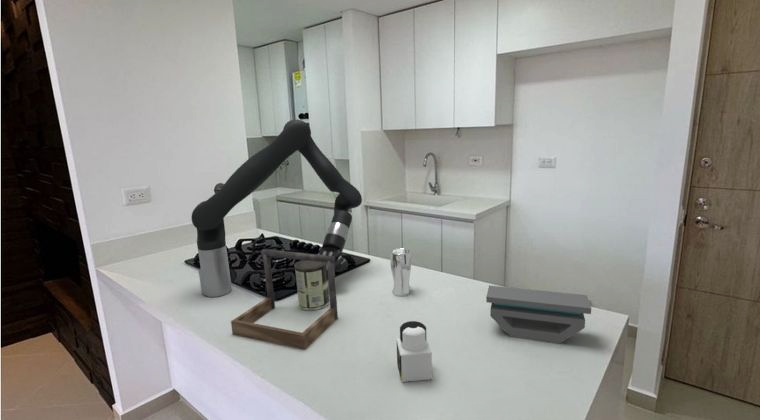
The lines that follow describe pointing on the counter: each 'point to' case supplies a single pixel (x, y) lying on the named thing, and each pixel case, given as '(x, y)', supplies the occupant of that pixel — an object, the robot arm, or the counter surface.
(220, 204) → the robot arm
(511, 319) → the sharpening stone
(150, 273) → the counter surface
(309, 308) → the coffee can
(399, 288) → the beer glass
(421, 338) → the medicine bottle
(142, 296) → the counter surface
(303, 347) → the frame
